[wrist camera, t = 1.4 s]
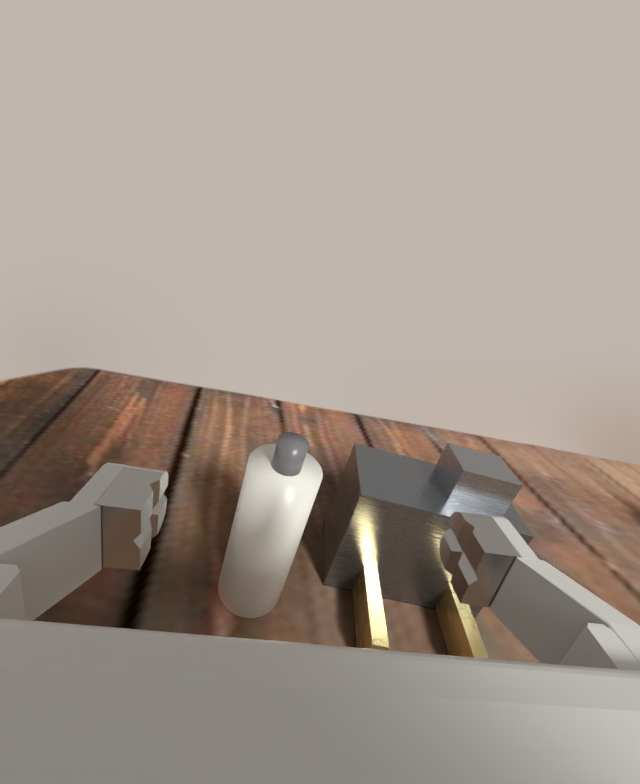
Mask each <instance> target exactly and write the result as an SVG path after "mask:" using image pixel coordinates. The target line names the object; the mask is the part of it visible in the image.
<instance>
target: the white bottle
mask: <svg viewBox="0 0 640 784" xmlns="http://www.w3.org/2000/svg"><path fill="white" fill-rule="evenodd" d="M308 447H309V442H308V441H307V439H306V438H304V437H303V436H301V435H299V434H296V433H291V432H286V433H282V434H281V435H279V437H278V441H277V444H267V445H263V446H260V447H258V448H256V449H255V450H254V451H253V452H252V453H251V454H250V456H249V459H248V463H247V467H246V471H245V475H244V480H243V484H242V488H241V492H240V496H239V500H238V504H237V508H236V512H235V516H234V520H233V524H232V528H231V532H230V537H229V541H228V545H227V549H226V553H225V557H224V561H223V565H222V569H221V573H220V577H219V581H218V595H219V598H220V600H221V602H222V604H223V605H224V606H225V608H226V609H227V610H229V611H230V612H231V613H233V614H235V615H237V616H239V617H243V618H257V617H261V616H263V615H265V614H267V613H269V612H270V611H271V610H272V609H273V608H274V607H275V606H276V604H277V603H278V601H279V598H280V595H281V593H282V590H283V587H284V584H285V582H286V579H287V576H288V573H289V570H290V568H291V565H292V562H293V559H294V556H295V554H296V551H297V548H298V545H299V542H300V540H301V537H302V534H303V531H304V528H305V526H306V523H307V520H308V517H309V515H310V512H311V509H312V506H313V503H314V501H315V498H316V495H317V492H318V489H319V487H320V484H321V481H322V478H323V472H322V468H321V466H320V465H319V463H318V462H317V461H316V460H315V459H314V458H313V457H312V456H311V455H310V454H308V453H307V450H308Z"/></svg>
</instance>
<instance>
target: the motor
mask: <svg viewBox="0 0 640 784" xmlns="http://www.w3.org/2000/svg"><path fill="white" fill-rule="evenodd" d="M521 487H522V484H521V483H520V482H519V480H518V479H517V478H516V476H515V475H514V474H513V473H512V471H511V470H510V469H509V467H508V466H507V465H506V463H505V462H504V461H503V460H502V458H501V457H500V456H497V455H493V454H489V453H485V452H482V451H478V450H474V449H470V448H466V447H463V446H459V445H455V444H451V443H447V445H446V447H445V449H444V451H443V453H442V455H441V457H440V459H439V461H438V463H437V464H433V463H429V462H425V461H421V460H417V459H413V458H409V457H406V456H402V455H398V454H394V453H390V452H386V451H382V450H378V449H375V448H371V447H367V446H363V445H359V444H354V446H353V449H352V452H351V454H350V457H349V459H348V462H347V465H346V467H345V470H344V472H343V475H342V477H341V480H340V483H339V485H338V488H337V490H336V493H335V496H334V498H333V501H332V503H331V506H330V509H329V511H328V514H327V516H326V519H325V521H324V555H323V585H326V586H331V587H336V588H340V589H345V590H349V591H352V592H353V606H354V620H355V634H356V648H368V649H380V650H388V649H389V642H388V635H387V629H386V622H385V615H384V609H383V602H382V598H387V599H391V600H396V601H401V602H405V603H410V604H414V605H419V606H424V607H428V608H433V609H435V610H436V613H437V617H438V620H439V624H440V627H441V631H442V634H443V638H444V641H445V645H446V648H447V652H448V655H451V656H463V657H475V658H487V659H489V657H488V654H487V651H486V649H485V646H484V644H483V641H482V638H481V636H480V633H479V630H478V628H477V625H476V622H475V620H474V617H476V616H477V614H478V613H479V612H480V610H481V609H482V608H483V606H477V605H469V604H462V603H460V602H459V600H458V598H457V595H456V593H455V591H454V589H453V587H452V584H451V582H450V581H451V578H452V575H451V574H450V573H449V572H448V571H447V570H446V569H445V568H444V567H443V564H442V562H441V559H440V554H439V548H440V541H441V538H442V536H443V534H444V533H445V532H447V531H448V530H449V529H451V528H450V526H449V523H448V521H449V519H450V517H451V515H452V514H453V513H454V512H455V511H456V512H463V513H471V514H478V515H486V516H487V515H491V516H501V517H504V518H506V519H508V520H509V521H510V523H511V524H512V525H513V527H514V528H515V529H516V530H517V532H518V533H519V534H520V536H521V537H522V538H523V539H524V541H525V542H526V543H527V545H528V544H529V543H530V541H531V540H532V538H533V535H532V534H531V532H530V531H529V530H528V528H527V527H526V525H525V524H524V522H523V521H522V519H521V518H520V516H519V515H518V513H517V512H516V510H515V509H514V507H513V506H512V504H511V503H512V501H513V500H514V498H515V497H516V495H517V493H518V492H519V490H520V489H521Z"/></svg>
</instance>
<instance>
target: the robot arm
mask: <svg viewBox="0 0 640 784" xmlns="http://www.w3.org/2000/svg"><path fill="white" fill-rule="evenodd" d="M167 486H168V473H167V471H160V470H154V469H148V468H142V467H135V466H127V465H122V464H115V463H106V464H104V465H103V466H102V467H101V468H100V469H99V470H98V471H97V472H96V473H95V474H94V475H93V477H92V478H91V479H90V480H89V481H88V482H87V483H86V484H85V485H84V486H83V488H82V489H81V490H80V491H79V492H78V493H77V494H76V495H75V496H74V497H73V499H72V500H71V501H70V502H64V501H62V502H60V503H58V504H55V505H53V506H50V507H48V508H46V509H43V510H41V511H38V512H36V513H33V514H31V515H29V516H26V517H24V518H21V519H19V520H17V521H14V522H12V523H9V524H7V525H4V526H2V527H0V784H640V626H639V625H638V624H636V623H635V622H633V621H632V620H631V619H629V618H628V617H626V616H625V615H623V614H622V613H620V612H619V611H617V610H616V609H614V608H613V607H612V606H610V605H609V604H607V603H606V602H604V601H603V600H601V599H600V598H598V597H597V596H595V595H594V594H592V593H591V592H590V591H588V590H587V589H585V588H584V587H582V586H581V585H579V584H578V583H576V582H575V581H573V580H572V579H571V578H569V577H568V576H566V575H565V574H563V573H562V572H560V571H559V570H557V569H556V568H554V567H553V566H551V565H550V564H549V563H547V562H546V561H544V560H539V559H538V558H537V556H536V555H535V554H534V552H533V551H532V550H531V549H530V547H529V546H528V545H527V543H526V542H525V541H524V539H523V538H522V537H521V536H520V534H519V533H518V532H517V530H516V529H515V528H514V527H513V525H512V524H511V523H510V521H509V520H508V519H506V518H504V517H501V516H491V515H487V516H486V515H478V514H471V513H463V512H456V511H455V512H454V513H453V514H452V515H451V517H450V519H449V521H448V523H449V526H450V528H451V529H449V530H448V531H447V532H445V533H444V534H443V536H442V538H441V541H440V548H439V554H440V559H441V562H442V564H443V567H444V568H445V569H446V570H447V571H448V572H449V573H450V574H451V575H452V578H451V581H450V582H451V584H452V587H453V589H454V591H455V593H456V595H457V598H458V600H459V602H460V603H462V604H469V605H477V606H484V607H490V608H489V609H490V610H491V611H492V612H493V613H494V614H495V615H496V616H497V618H498V619H499V620H500V621H501V622H502V623H503V624H504V625H505V626H506V627H507V628H508V629H509V630H510V631H511V632H512V633H513V634H514V636H515V637H516V638H517V639H518V640H519V641H520V642H521V643H522V644H523V645H524V646H525V647H526V648H527V649H528V650H529V651H530V652H531V653H532V655H533V656H534V657H535V658H536V659H537V660H538V661H539V662H540V663H535V662H523V661H511V660H498V659H487V658H475V657H463V656H451V655H439V654H428V653H416V652H404V651H392V650H380V649H368V648H356V647H344V646H332V645H320V644H308V643H296V642H284V641H272V640H259V639H247V638H235V637H223V636H211V635H199V634H187V633H175V632H163V631H151V630H139V629H127V628H115V627H103V626H91V625H79V624H67V623H55V622H43V621H33V620H34V619H36V618H37V617H38V616H40V615H41V614H42V613H44V612H45V611H46V610H48V609H49V608H50V607H52V606H53V605H54V604H56V603H57V602H59V601H60V600H61V599H63V598H64V597H65V596H67V595H68V594H69V593H71V592H72V591H73V590H75V589H76V588H77V587H79V586H80V585H81V584H83V583H84V582H85V581H87V580H88V579H90V578H91V577H92V576H94V575H95V574H96V573H98V572H99V571H100V570H102V567H104V568H118V569H131V570H140V568H141V566H142V564H143V562H144V560H145V558H146V556H147V554H148V552H149V550H150V548H151V538H153V537H154V536H156V535H157V534H158V532H159V530H160V528H161V525H162V522H163V519H164V516H165V511H166V505H167V498H166V496H165V495H164V494H163V493H164V491H165V489H166V487H167Z"/></svg>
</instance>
